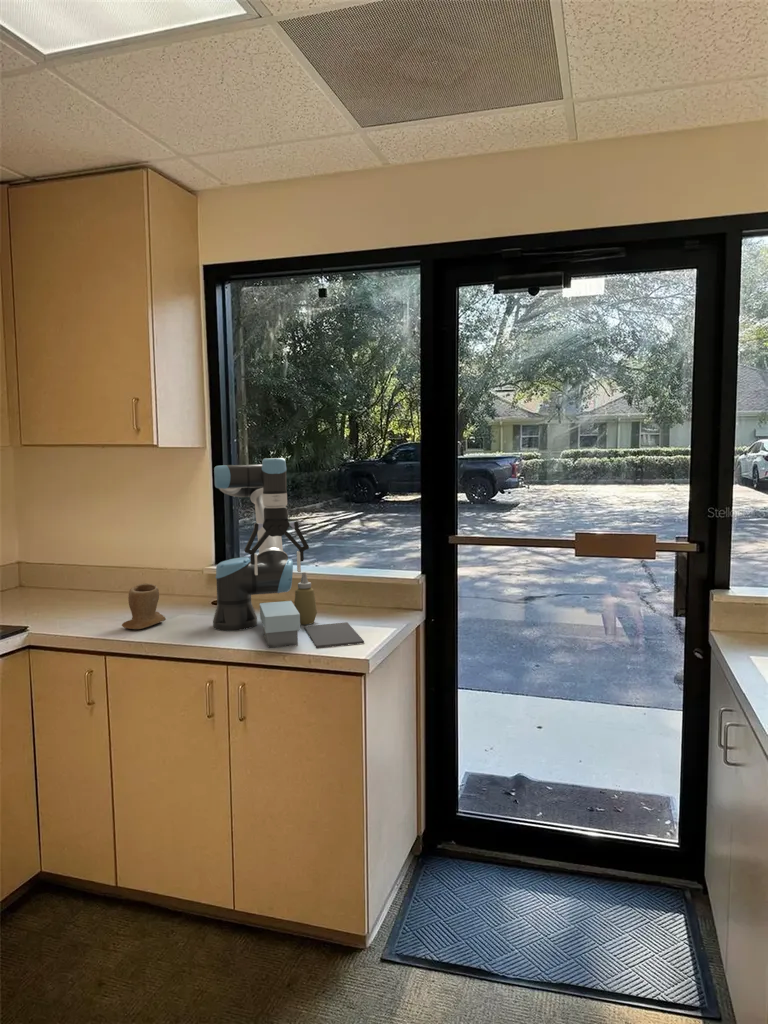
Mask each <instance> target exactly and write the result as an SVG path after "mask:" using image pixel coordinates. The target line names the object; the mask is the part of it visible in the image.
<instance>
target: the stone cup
mask: <svg viewBox="0 0 768 1024" xmlns="http://www.w3.org/2000/svg"><path fill="white" fill-rule="evenodd" d="M159 590H160V589H159V587H158V586H157V585H156V584H153V583H138V584H136V585H134V586H133V587H131V588H130V589H129V590H128V591H129V592H128V596H127V597H128V599H127V600H128V606H129V610H130V612H131V619H129V620H127V621H124V622H122V624H121V626H122V627H123V628H124V629H129V630H141V629H142V630H143V629H146V628H148V627H151V626H153V625H156V624H159V623H162V622H164V621H165V620H166V617H165V615H163V614H161V613H160V612H159V611H157V607H158V603H159V599H160V591H159Z"/></svg>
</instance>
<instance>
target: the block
mask: <svg viewBox="0 0 768 1024" xmlns="http://www.w3.org/2000/svg"><path fill="white" fill-rule="evenodd" d="M294 604H295V603H294V602H293V601H292V600H285V601H271V602H270V601H269V602H260V603H259V619H260V621H261V623H262V628H263V627H264V630H265V632H266V633H273V632H284V631H295V630H297V631H301V624H300V614H299V612H298V610H297V609H296V607H295V606H294Z"/></svg>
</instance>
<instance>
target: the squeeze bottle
mask: <svg viewBox="0 0 768 1024" xmlns="http://www.w3.org/2000/svg"><path fill="white" fill-rule="evenodd" d="M315 595H316V594H315V589H314V588H312V582H310V581H309V580H308V576H307V572H306V571H305V572H301V578H300V582H297V589H296V590H295V591H294V603H293V604H294V606H295V607H296V609H297V610H298V612H299V614H300V626H301V625H302V626H304V625H305V626H308V625H313V624H314V623H315V622H316V621H315V620H316V618H317V617H316V616H317V613H318V612H317V605H316V596H315ZM307 624H308V625H307Z"/></svg>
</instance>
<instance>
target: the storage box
mask: <svg viewBox="0 0 768 1024" xmlns="http://www.w3.org/2000/svg"><path fill="white" fill-rule="evenodd" d="M262 632H263V637H264V639H265V642H266V644H267V647H268V649H275V648H283V647H292V646H295V645H296V646H298V645H299V640H298V639H299V637H298V635H299V634H298V630H295V631H284V632H273V633H266V632H265V630H264V627H263V626H262Z"/></svg>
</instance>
